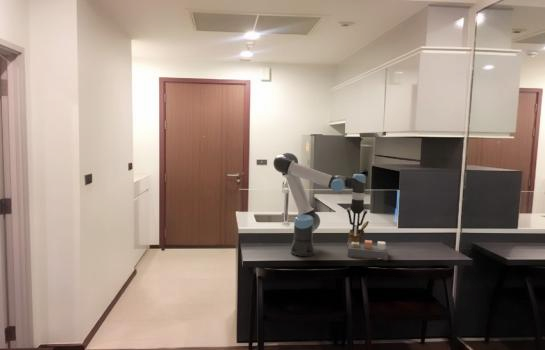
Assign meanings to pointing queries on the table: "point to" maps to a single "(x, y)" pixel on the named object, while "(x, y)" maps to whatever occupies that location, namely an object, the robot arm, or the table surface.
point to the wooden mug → (357, 234)
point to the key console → (367, 252)
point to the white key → (381, 245)
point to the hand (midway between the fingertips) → (355, 235)
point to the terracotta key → (368, 244)
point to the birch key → (355, 244)
